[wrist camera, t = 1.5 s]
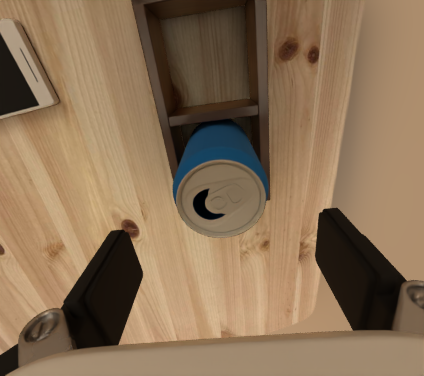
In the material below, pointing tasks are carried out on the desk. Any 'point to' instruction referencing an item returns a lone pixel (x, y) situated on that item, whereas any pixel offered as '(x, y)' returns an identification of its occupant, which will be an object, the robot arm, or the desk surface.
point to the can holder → (174, 117)
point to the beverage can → (220, 181)
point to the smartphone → (21, 73)
